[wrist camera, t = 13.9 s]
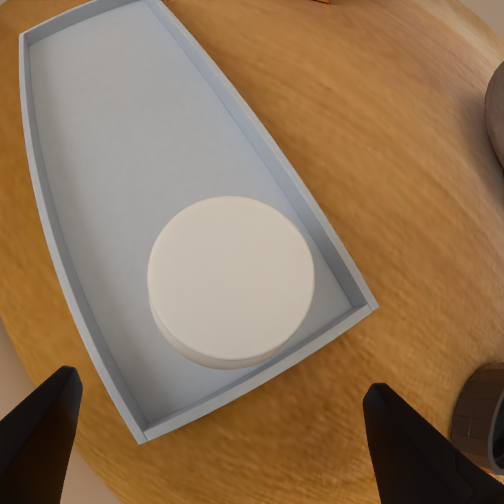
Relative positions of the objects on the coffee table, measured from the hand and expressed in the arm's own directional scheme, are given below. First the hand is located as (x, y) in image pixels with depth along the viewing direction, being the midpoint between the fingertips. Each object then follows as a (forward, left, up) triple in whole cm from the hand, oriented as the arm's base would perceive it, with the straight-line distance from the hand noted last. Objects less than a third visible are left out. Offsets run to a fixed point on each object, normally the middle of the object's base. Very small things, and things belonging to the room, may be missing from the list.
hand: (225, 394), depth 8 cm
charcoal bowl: (+15, -16, -9) cm, 24 cm away
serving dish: (+2, +18, -9) cm, 20 cm away
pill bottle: (+2, +3, -9) cm, 10 cm away
